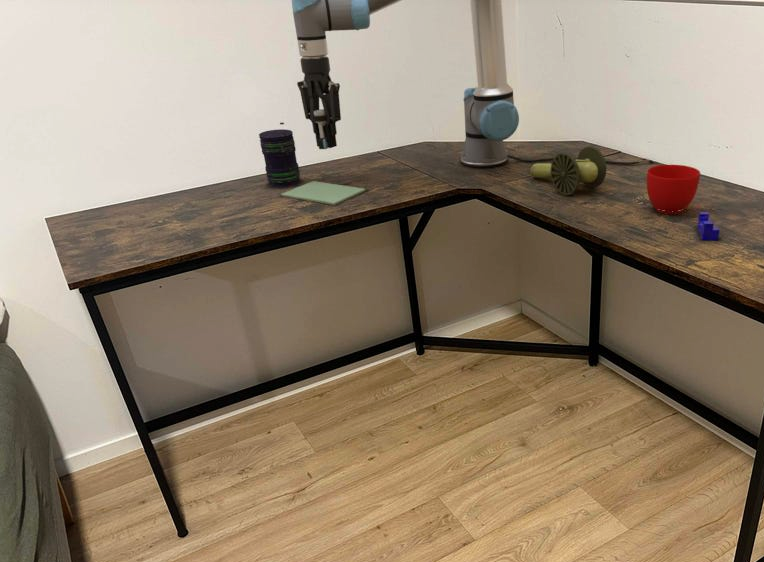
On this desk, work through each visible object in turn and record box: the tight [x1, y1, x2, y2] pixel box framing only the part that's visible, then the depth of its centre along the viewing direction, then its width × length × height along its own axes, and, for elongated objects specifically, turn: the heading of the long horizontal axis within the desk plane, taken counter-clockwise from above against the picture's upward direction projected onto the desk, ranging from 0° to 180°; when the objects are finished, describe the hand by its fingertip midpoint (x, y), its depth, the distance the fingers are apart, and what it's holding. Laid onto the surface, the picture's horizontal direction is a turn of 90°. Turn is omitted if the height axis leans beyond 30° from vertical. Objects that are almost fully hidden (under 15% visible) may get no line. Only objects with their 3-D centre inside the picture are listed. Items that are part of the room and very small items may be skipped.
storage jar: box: [258, 122, 302, 189], centre depth 202 cm, size 10×10×18 cm
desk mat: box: [280, 180, 366, 206], centre depth 196 cm, size 20×14×1 cm
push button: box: [311, 108, 330, 150], centre depth 189 cm, size 7×5×10 cm
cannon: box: [530, 145, 607, 196], centre depth 192 cm, size 25×12×11 cm, turn 37°
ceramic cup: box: [646, 164, 701, 215], centre depth 173 cm, size 13×17×10 cm
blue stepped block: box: [696, 211, 720, 241], centre depth 158 cm, size 8×4×4 cm, turn 173°
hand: (326, 145), depth 192 cm, fingers closed on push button, 3 cm apart
